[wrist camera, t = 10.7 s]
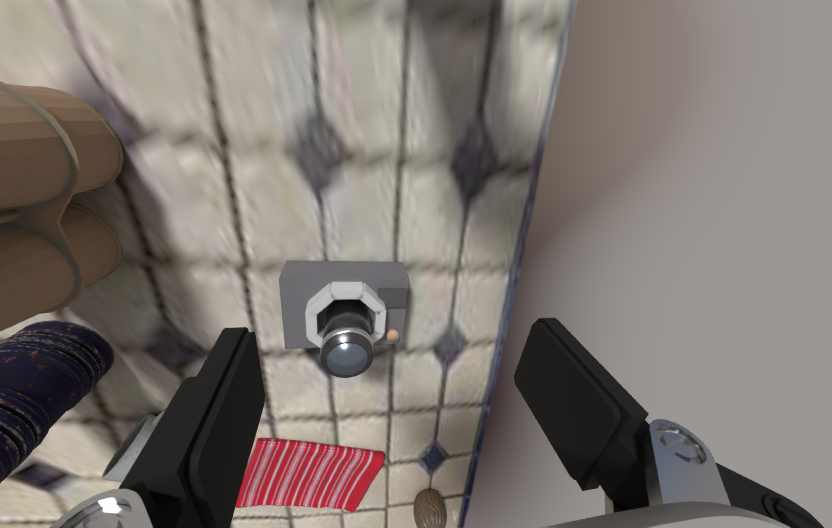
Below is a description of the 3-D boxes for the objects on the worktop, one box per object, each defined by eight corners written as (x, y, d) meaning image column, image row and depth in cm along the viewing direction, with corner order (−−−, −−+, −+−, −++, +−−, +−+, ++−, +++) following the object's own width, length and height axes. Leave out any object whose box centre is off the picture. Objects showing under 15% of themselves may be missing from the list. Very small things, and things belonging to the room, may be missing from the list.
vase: (414, 485, 65) (424, 535, 57) (444, 483, 67) (457, 530, 59) (408, 504, 68) (416, 554, 60) (436, 501, 70) (448, 549, 62)
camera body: (286, 260, 38) (275, 287, 32) (402, 262, 42) (412, 286, 36) (291, 325, 42) (282, 360, 36) (396, 321, 46) (404, 353, 40)
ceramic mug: (183, 452, 48) (156, 506, 41) (126, 434, 44) (88, 490, 38) (223, 411, 46) (203, 460, 40) (168, 389, 43) (136, 439, 36)
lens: (325, 295, 36) (319, 338, 29) (370, 295, 37) (376, 337, 30) (324, 332, 38) (319, 381, 31) (368, 331, 39) (372, 378, 32)
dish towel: (354, 501, 64) (354, 515, 62) (232, 494, 55) (227, 511, 53) (387, 447, 59) (389, 461, 56) (259, 431, 50) (255, 447, 48)
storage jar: (122, 381, 41) (14, 506, 27) (28, 383, 38) (-141, 522, 25) (105, 320, 37) (-30, 432, 24) (-1, 318, 34) (-219, 441, 21)
